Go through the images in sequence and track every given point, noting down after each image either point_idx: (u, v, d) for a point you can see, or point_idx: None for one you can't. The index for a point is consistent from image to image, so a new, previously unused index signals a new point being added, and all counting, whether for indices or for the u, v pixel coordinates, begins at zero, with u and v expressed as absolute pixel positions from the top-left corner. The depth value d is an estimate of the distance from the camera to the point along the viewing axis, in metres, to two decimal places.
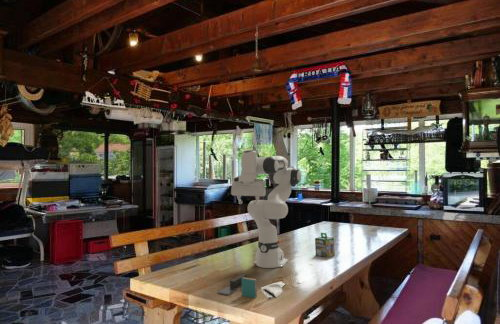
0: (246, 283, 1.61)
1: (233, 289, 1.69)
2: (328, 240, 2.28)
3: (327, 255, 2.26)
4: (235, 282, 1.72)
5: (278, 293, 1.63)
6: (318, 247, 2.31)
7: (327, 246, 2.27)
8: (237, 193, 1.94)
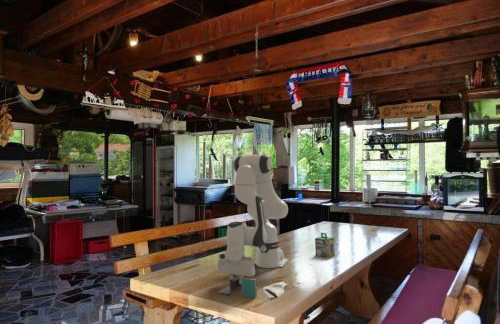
0: (246, 283, 1.61)
1: (233, 289, 1.69)
2: (328, 240, 2.28)
3: (327, 255, 2.26)
4: (235, 282, 1.72)
5: (280, 293, 1.63)
6: (318, 247, 2.31)
7: (327, 246, 2.27)
8: (224, 270, 1.76)
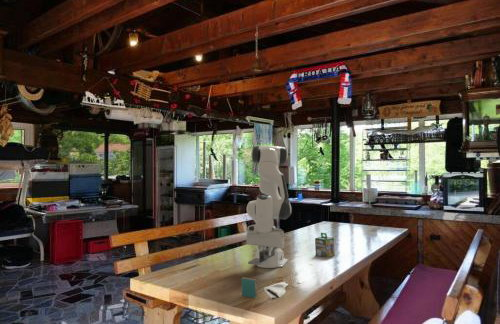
0: (246, 283, 1.61)
1: (263, 260, 1.71)
2: (328, 240, 2.28)
3: (327, 255, 2.26)
4: (265, 253, 1.74)
5: (281, 293, 1.63)
6: (318, 247, 2.31)
7: (327, 246, 2.27)
8: (253, 243, 1.78)
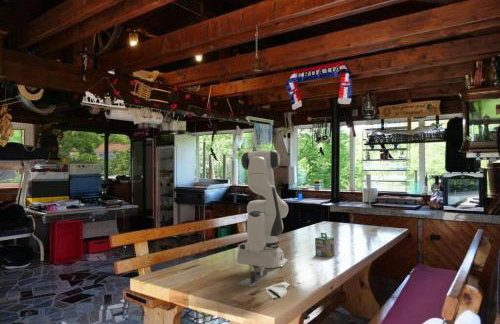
0: None
1: (254, 280, 1.62)
2: (328, 240, 2.28)
3: (327, 255, 2.26)
4: (256, 273, 1.65)
5: (283, 293, 1.62)
6: (318, 247, 2.31)
7: (327, 246, 2.27)
8: (244, 262, 1.70)
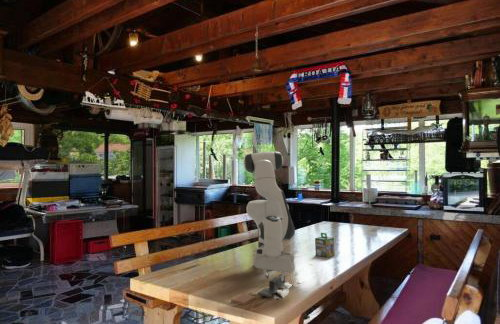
0: None
1: (273, 290, 1.62)
2: (328, 240, 2.28)
3: (327, 255, 2.26)
4: (275, 282, 1.65)
5: (285, 294, 1.62)
6: (318, 247, 2.31)
7: (327, 246, 2.27)
8: (261, 266, 1.70)
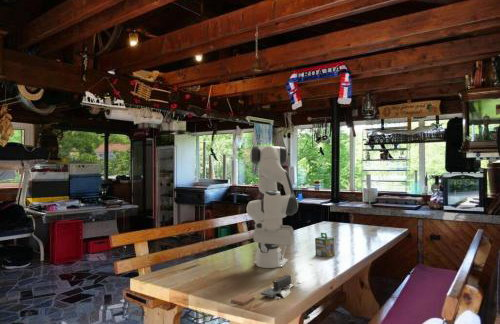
0: None
1: (277, 290, 1.62)
2: (328, 240, 2.28)
3: (327, 255, 2.26)
4: (279, 283, 1.64)
5: (286, 294, 1.62)
6: (318, 247, 2.31)
7: (327, 246, 2.27)
8: (261, 240, 1.70)
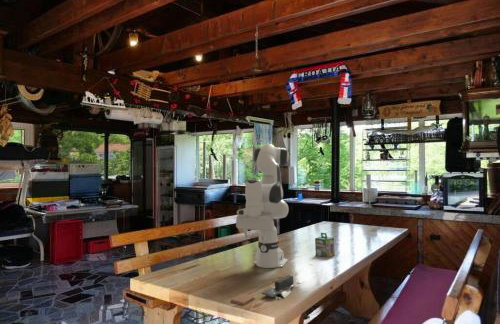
0: None
1: (278, 290, 1.61)
2: (328, 240, 2.28)
3: (327, 255, 2.26)
4: (280, 283, 1.64)
5: (286, 294, 1.62)
6: (318, 247, 2.31)
7: (327, 246, 2.27)
8: (243, 226, 1.78)
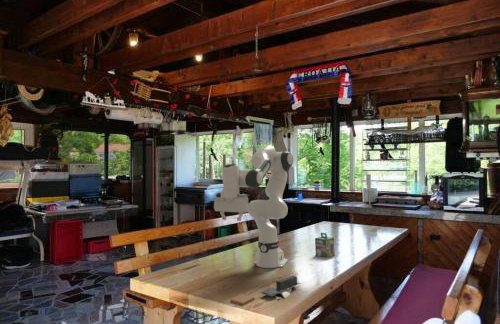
0: None
1: (278, 290, 1.62)
2: (328, 240, 2.28)
3: (327, 255, 2.26)
4: (282, 283, 1.64)
5: (287, 294, 1.61)
6: (318, 247, 2.31)
7: (327, 246, 2.27)
8: (220, 209, 1.88)
